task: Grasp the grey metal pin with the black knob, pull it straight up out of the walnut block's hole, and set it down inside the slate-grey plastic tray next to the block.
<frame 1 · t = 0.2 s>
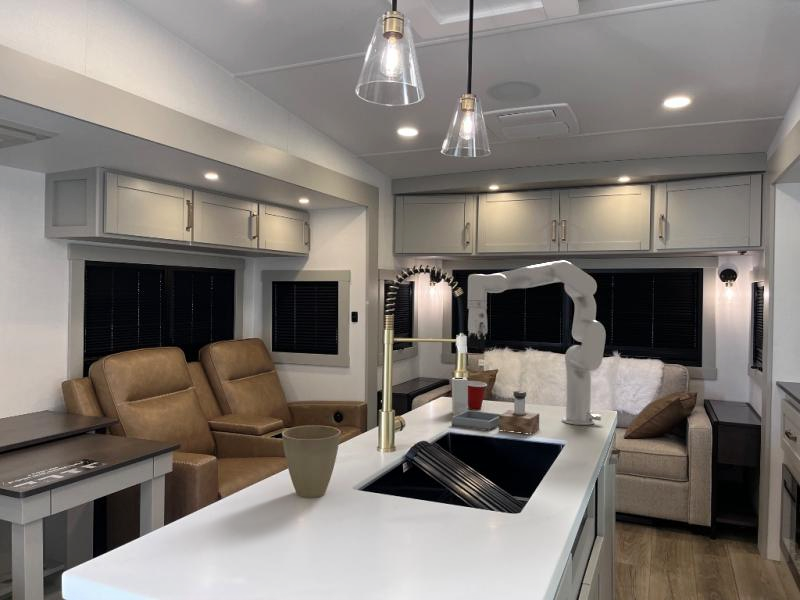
hand: (476, 348, 234), 31 cm above the kitchen island, tool pointing down, fingers open, 9 cm apart
plastic cup: (475, 409, 268), on the kitchen island
skincare box: (459, 414, 256), on the kitchen island
tray: (478, 424, 235), on the kitchen island
plant pot: (310, 494, 151), on the kitchen island
pin block: (519, 429, 227), on the kitchen island
pin: (519, 411, 227), in the pin block
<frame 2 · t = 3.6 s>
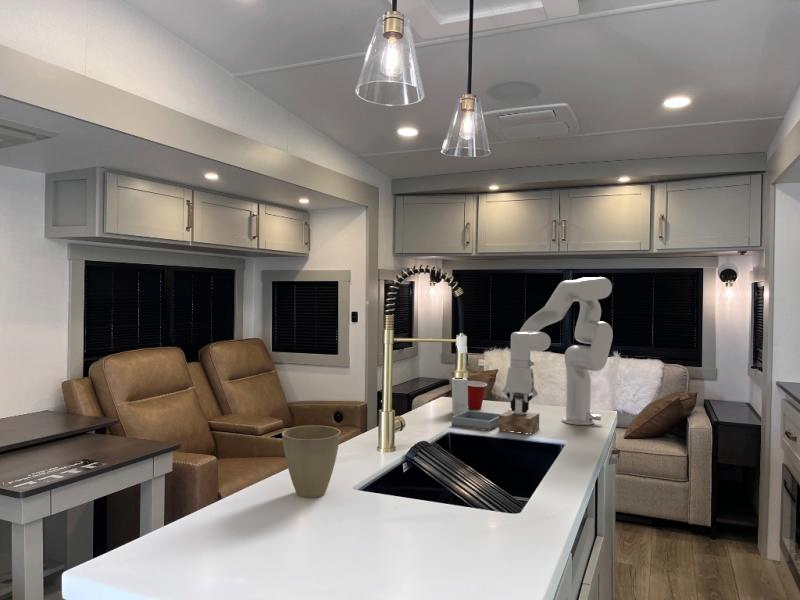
hand: (519, 410, 227), 7 cm above the kitchen island, tool pointing down, fingers closed on pin, 4 cm apart
pin: (519, 411, 227), in the pin block, touching gripper
everything else where it was.
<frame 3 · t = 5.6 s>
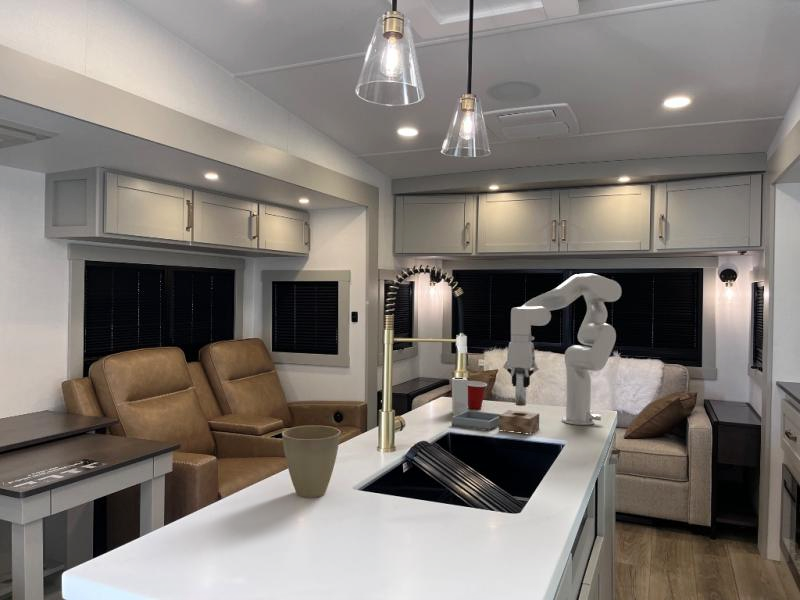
hand: (520, 385, 227), 17 cm above the kitchen island, tool pointing down, fingers closed on pin, 4 cm apart
pin: (520, 386, 227), point 17 cm above the kitchen island, touching gripper
everything else where it was.
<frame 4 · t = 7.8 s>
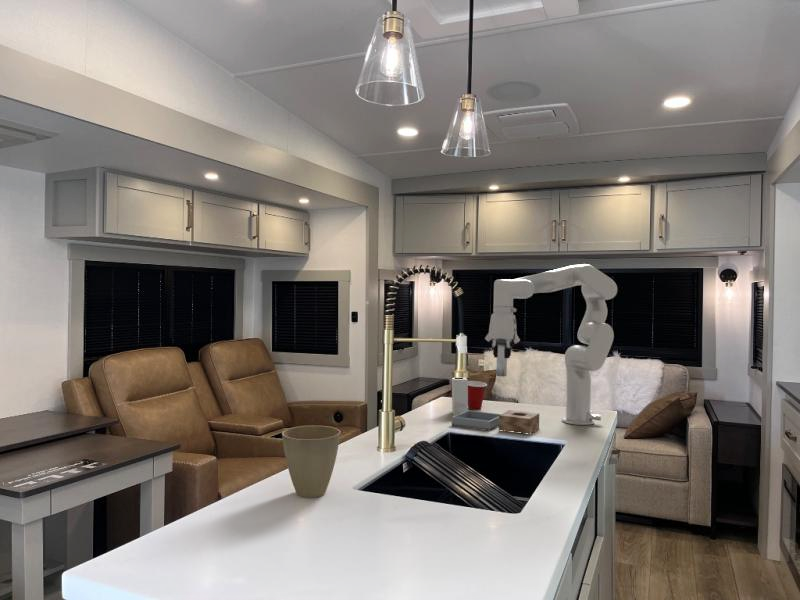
hand: (501, 357, 230), 28 cm above the kitchen island, tool pointing down, fingers closed on pin, 4 cm apart
pin: (501, 357, 230), point 28 cm above the kitchen island, touching gripper
everything else where it was.
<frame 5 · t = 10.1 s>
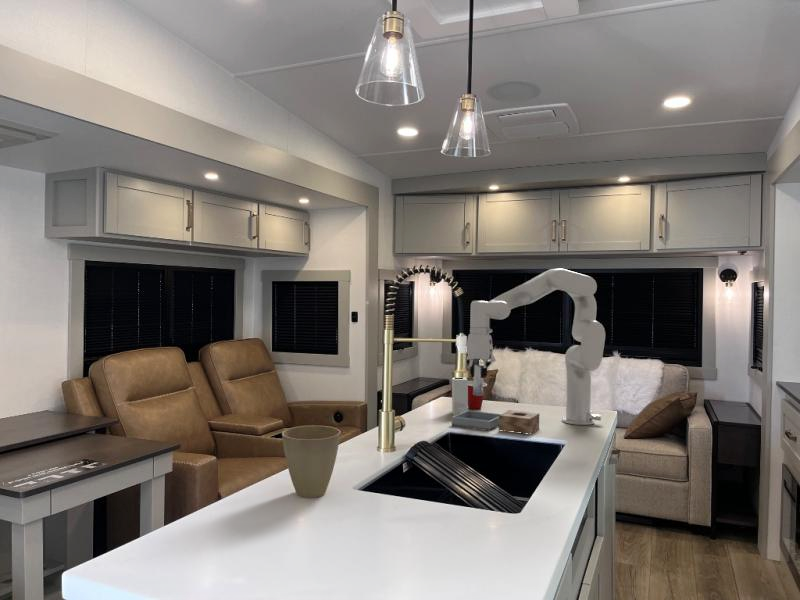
hand: (478, 376, 235), 19 cm above the kitchen island, tool pointing down, fingers closed on pin, 4 cm apart
pin: (478, 376, 235), point 19 cm above the kitchen island, touching gripper
everything else where it was.
when the fingers open (9 cm above the kitchen island, at t = 12.2 s): pin drops 1 cm, resting on tray.
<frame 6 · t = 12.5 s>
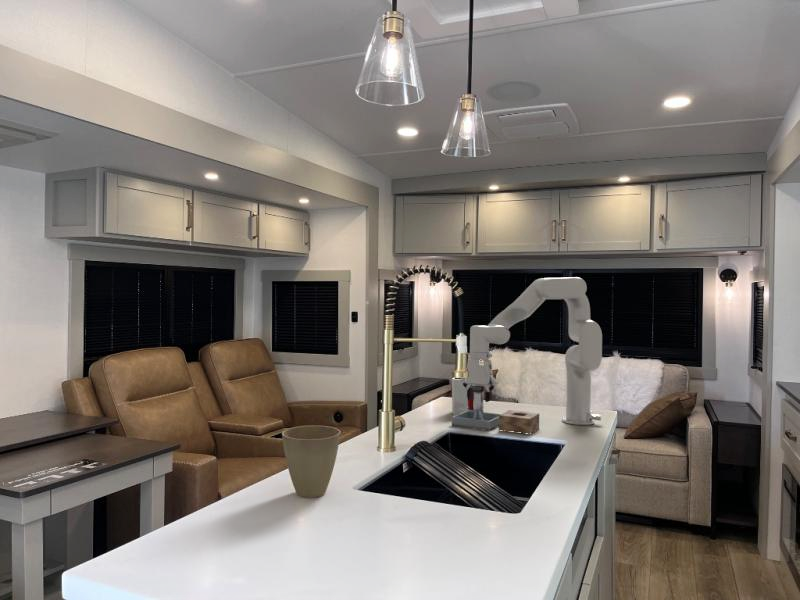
hand: (478, 400, 235), 10 cm above the kitchen island, tool pointing down, fingers open, 7 cm apart
pin: (478, 404, 235), in the tray, point 8 cm above the kitchen island
everything else where it was.
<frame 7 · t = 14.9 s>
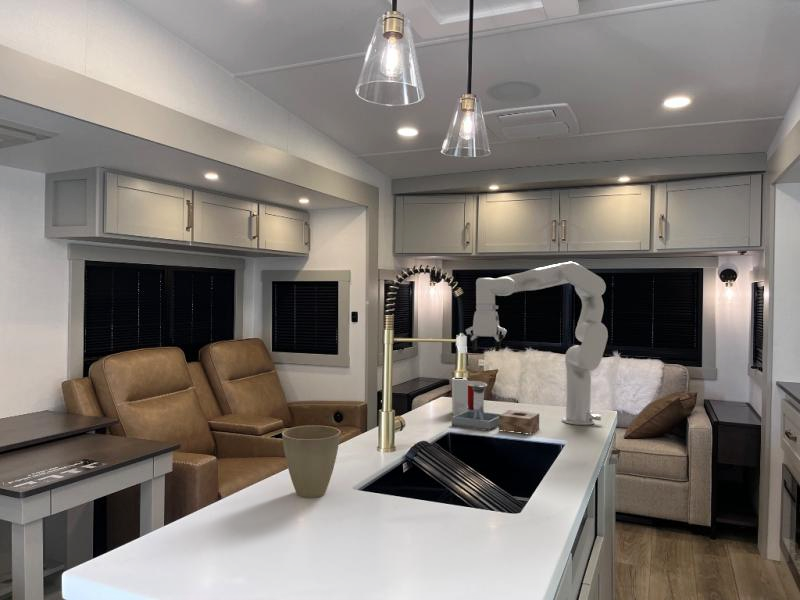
hand: (486, 350, 238), 29 cm above the kitchen island, tool pointing down, fingers open, 9 cm apart
nothing on the kitchen island moved.
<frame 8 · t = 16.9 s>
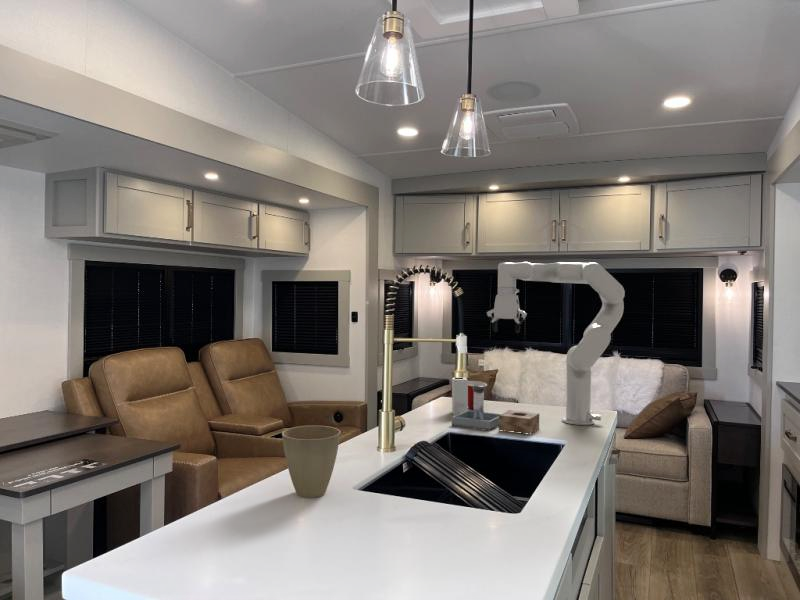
hand: (506, 332, 247), 36 cm above the kitchen island, tool pointing down, fingers open, 9 cm apart
nothing on the kitchen island moved.
at the end: pin inside the target area on the tray (0.1 cm from its centre), point 8.1 cm above the tray's base; the gripper is holding nothing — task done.
